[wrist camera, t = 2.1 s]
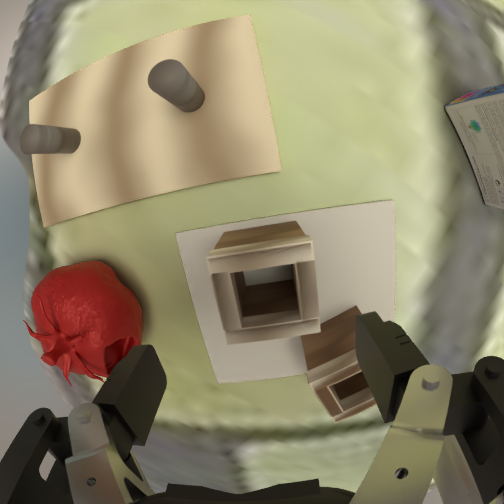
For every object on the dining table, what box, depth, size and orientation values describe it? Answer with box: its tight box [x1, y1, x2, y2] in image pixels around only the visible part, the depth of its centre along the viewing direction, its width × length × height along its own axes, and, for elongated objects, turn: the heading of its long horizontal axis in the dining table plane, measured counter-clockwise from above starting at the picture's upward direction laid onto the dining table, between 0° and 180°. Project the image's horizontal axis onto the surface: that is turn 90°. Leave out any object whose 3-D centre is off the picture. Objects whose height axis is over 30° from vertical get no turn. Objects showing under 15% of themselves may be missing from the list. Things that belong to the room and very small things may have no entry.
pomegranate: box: [24, 261, 143, 386], centre depth 18 cm, size 10×10×9 cm
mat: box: [175, 200, 396, 383], centre depth 21 cm, size 16×14×1 cm
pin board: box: [20, 15, 282, 227], centre depth 15 cm, size 20×12×6 cm, turn 100°
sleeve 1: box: [206, 221, 321, 345], centre depth 17 cm, size 5×5×6 cm
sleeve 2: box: [301, 305, 377, 423], centre depth 19 cm, size 5×5×6 cm
